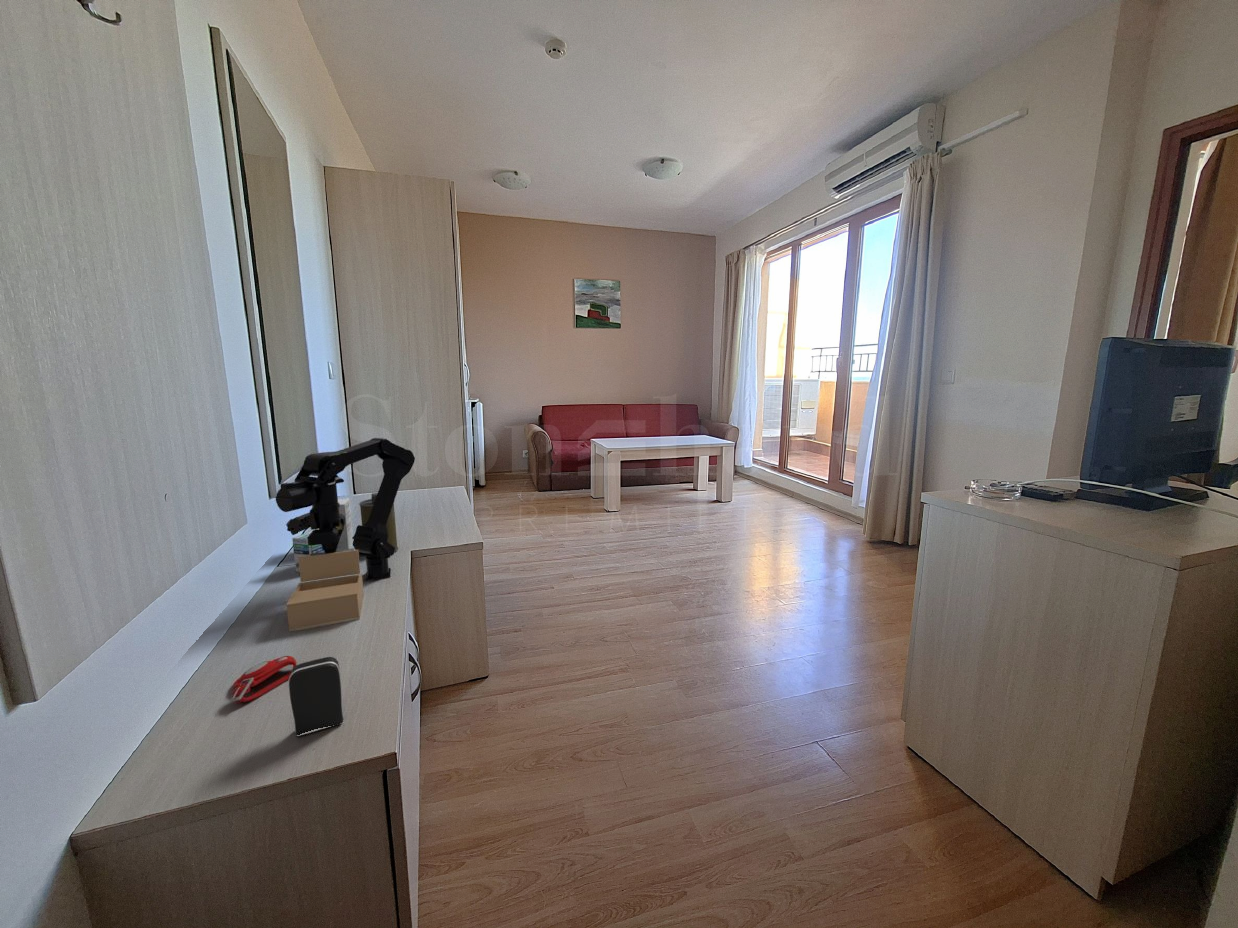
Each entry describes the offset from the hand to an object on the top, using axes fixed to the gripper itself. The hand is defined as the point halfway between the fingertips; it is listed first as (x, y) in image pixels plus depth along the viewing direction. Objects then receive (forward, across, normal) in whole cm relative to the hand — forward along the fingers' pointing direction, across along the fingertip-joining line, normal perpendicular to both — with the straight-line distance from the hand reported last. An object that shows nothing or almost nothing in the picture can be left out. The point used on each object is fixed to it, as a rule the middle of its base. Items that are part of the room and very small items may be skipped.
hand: (330, 559), depth 122 cm
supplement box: (+10, -40, -4) cm, 41 cm away
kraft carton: (+10, +10, 0) cm, 14 cm away
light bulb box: (+10, -25, -7) cm, 28 cm away
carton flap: (+1, +3, 0) cm, 3 cm away
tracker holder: (+11, +37, -8) cm, 40 cm away
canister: (+10, -32, +10) cm, 35 cm away
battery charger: (+10, +54, +4) cm, 55 cm away
